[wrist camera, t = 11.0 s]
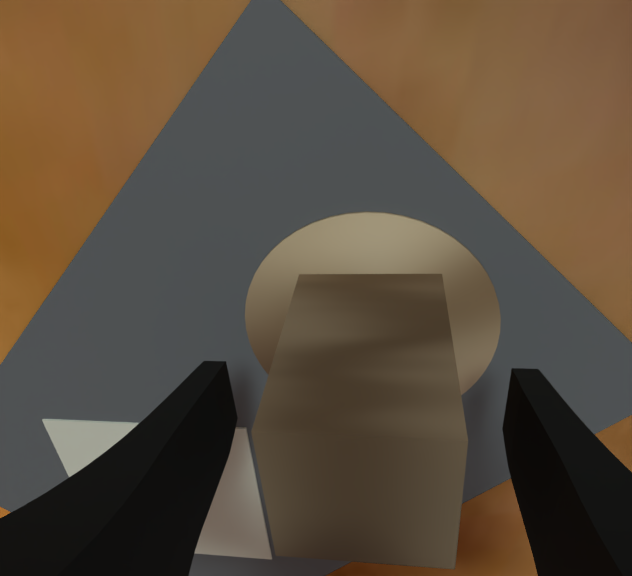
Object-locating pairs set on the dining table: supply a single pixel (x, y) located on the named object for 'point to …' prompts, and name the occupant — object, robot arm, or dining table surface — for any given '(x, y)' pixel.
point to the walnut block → (364, 423)
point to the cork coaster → (378, 258)
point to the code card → (229, 500)
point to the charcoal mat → (250, 250)
